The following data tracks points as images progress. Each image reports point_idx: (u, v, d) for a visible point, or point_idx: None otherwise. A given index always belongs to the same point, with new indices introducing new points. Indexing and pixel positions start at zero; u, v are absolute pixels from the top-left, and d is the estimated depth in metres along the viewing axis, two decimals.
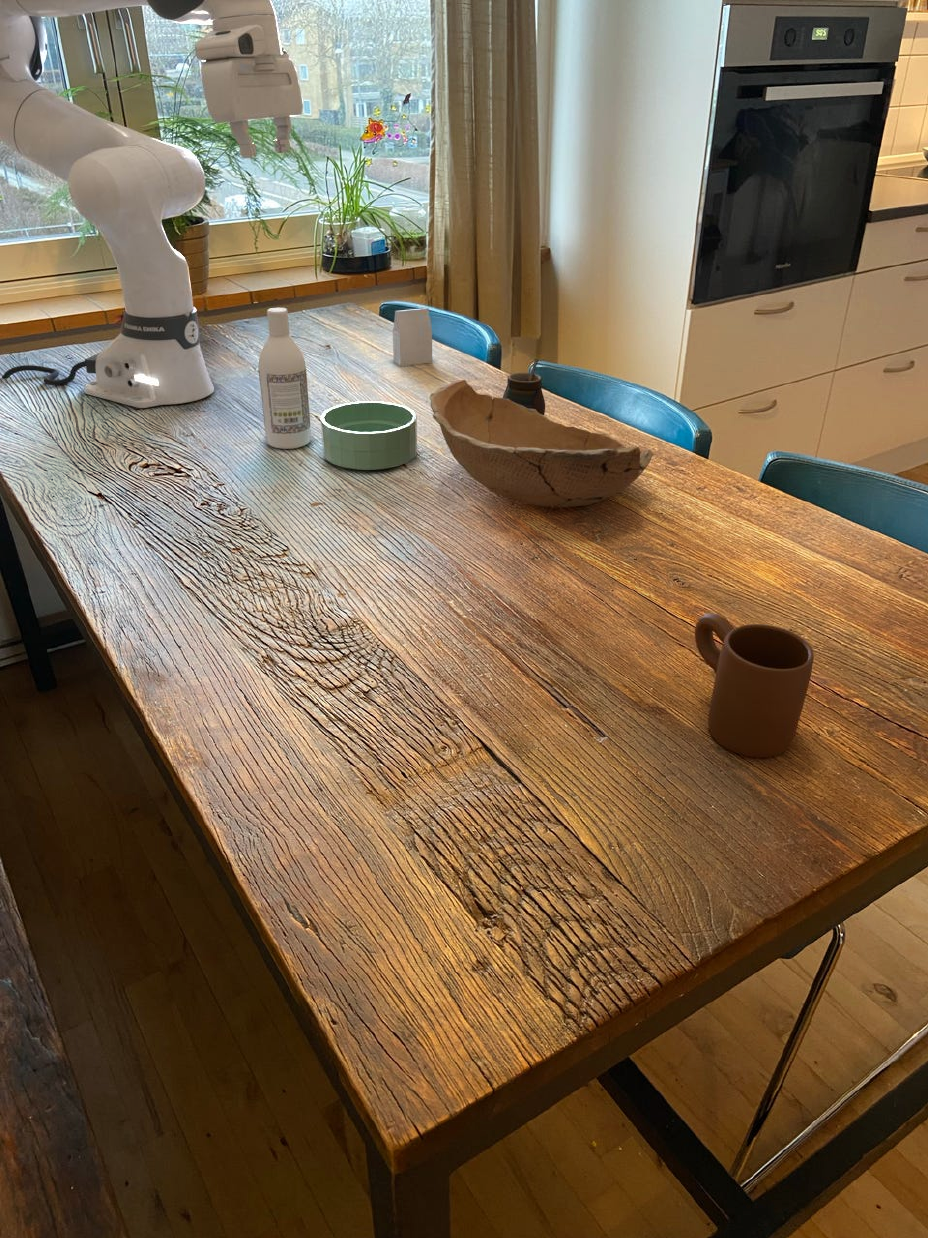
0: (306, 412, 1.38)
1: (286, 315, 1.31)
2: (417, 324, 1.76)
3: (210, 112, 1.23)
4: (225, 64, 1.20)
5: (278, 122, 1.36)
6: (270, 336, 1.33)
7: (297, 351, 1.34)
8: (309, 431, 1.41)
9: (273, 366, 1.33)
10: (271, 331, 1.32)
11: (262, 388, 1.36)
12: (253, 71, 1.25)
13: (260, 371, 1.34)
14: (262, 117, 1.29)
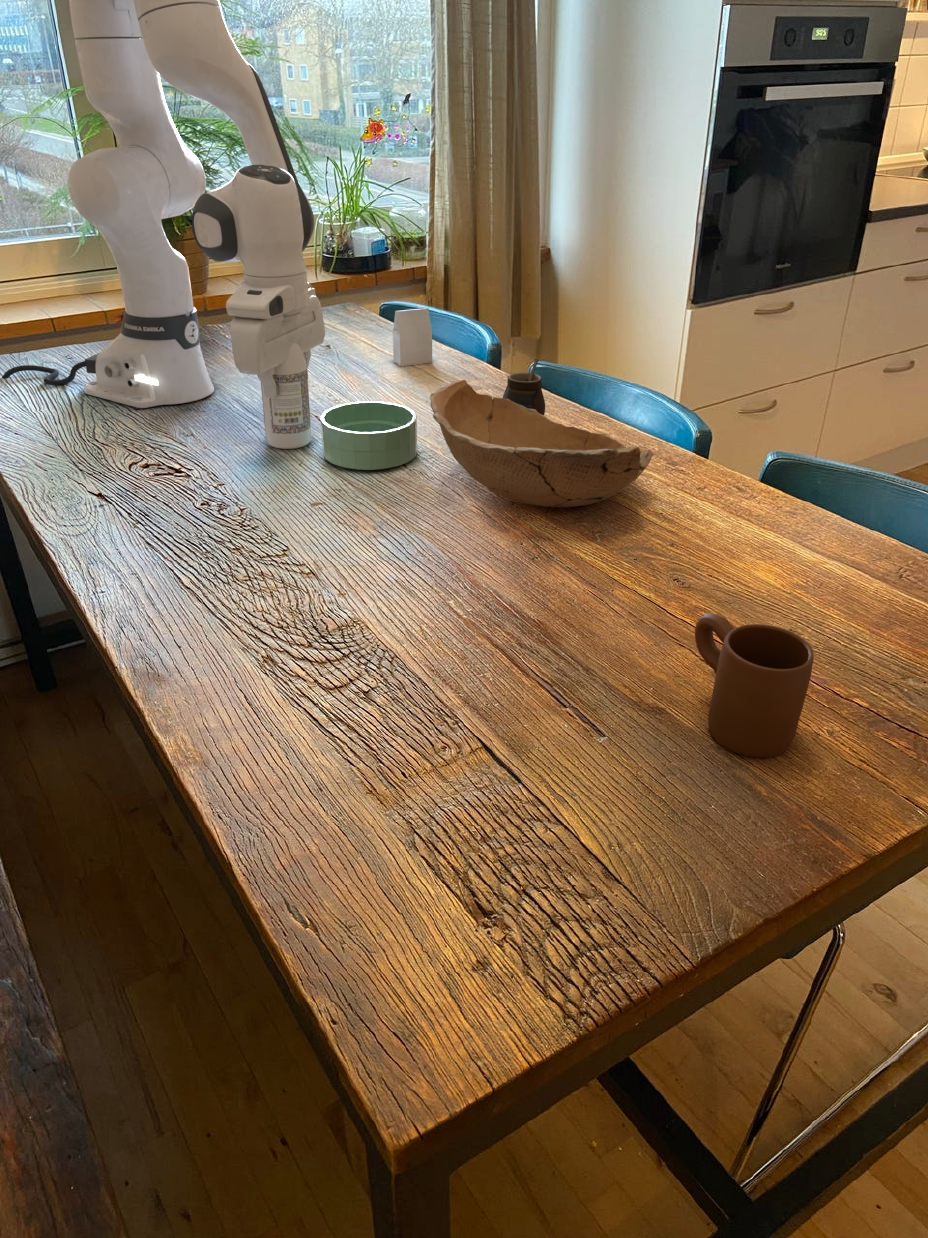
0: (306, 413, 1.38)
1: None
2: (417, 324, 1.76)
3: (236, 365, 1.27)
4: (255, 326, 1.24)
5: None
6: None
7: (298, 351, 1.34)
8: (309, 431, 1.41)
9: None
10: None
11: (262, 388, 1.36)
12: (280, 323, 1.29)
13: None
14: (285, 361, 1.33)
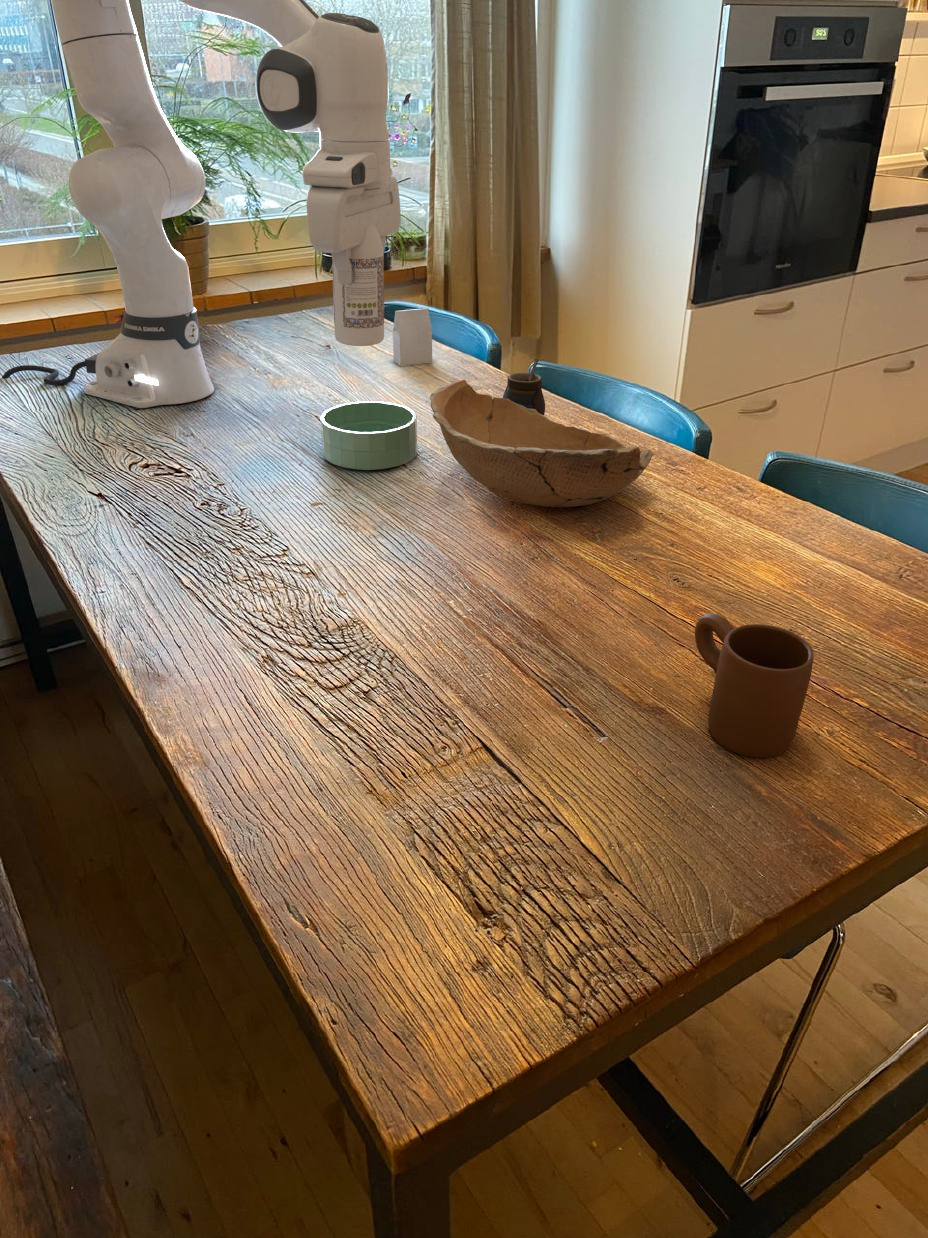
0: (381, 305, 1.25)
1: None
2: (417, 324, 1.76)
3: (312, 241, 1.14)
4: (335, 195, 1.11)
5: None
6: None
7: (376, 234, 1.21)
8: (383, 328, 1.28)
9: None
10: None
11: (335, 275, 1.23)
12: (360, 197, 1.16)
13: None
14: (362, 243, 1.20)
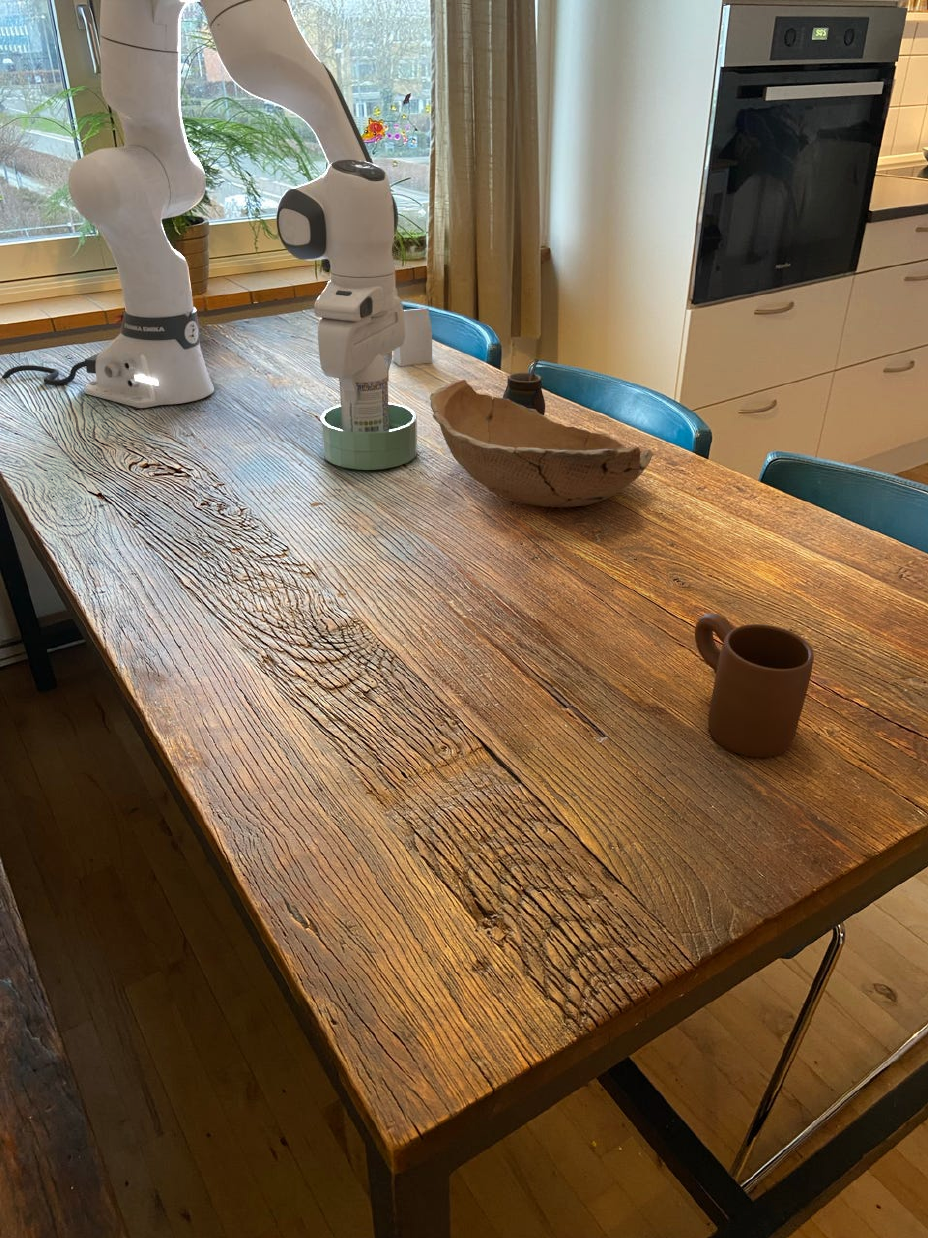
0: (386, 421, 1.34)
1: None
2: (417, 324, 1.76)
3: (322, 368, 1.22)
4: (344, 328, 1.19)
5: None
6: None
7: (380, 358, 1.30)
8: None
9: None
10: None
11: (342, 396, 1.32)
12: (367, 325, 1.25)
13: None
14: (369, 364, 1.28)
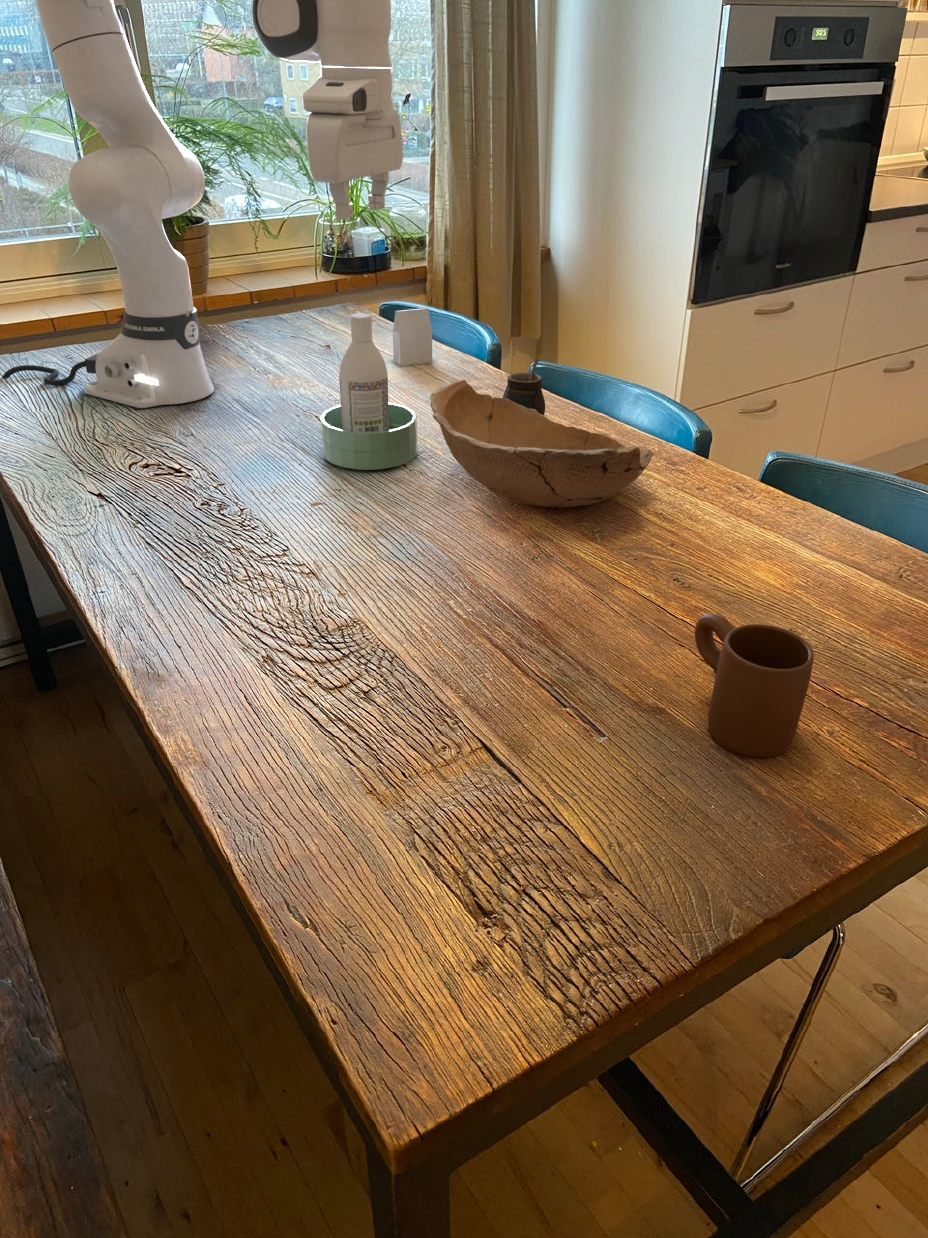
0: (386, 421, 1.34)
1: (370, 321, 1.27)
2: (417, 324, 1.76)
3: (311, 170, 1.11)
4: (335, 121, 1.08)
5: (375, 176, 1.24)
6: (353, 343, 1.28)
7: (380, 358, 1.30)
8: None
9: (355, 373, 1.28)
10: (354, 337, 1.28)
11: (342, 396, 1.32)
12: (361, 127, 1.13)
13: (341, 379, 1.30)
14: (363, 176, 1.17)
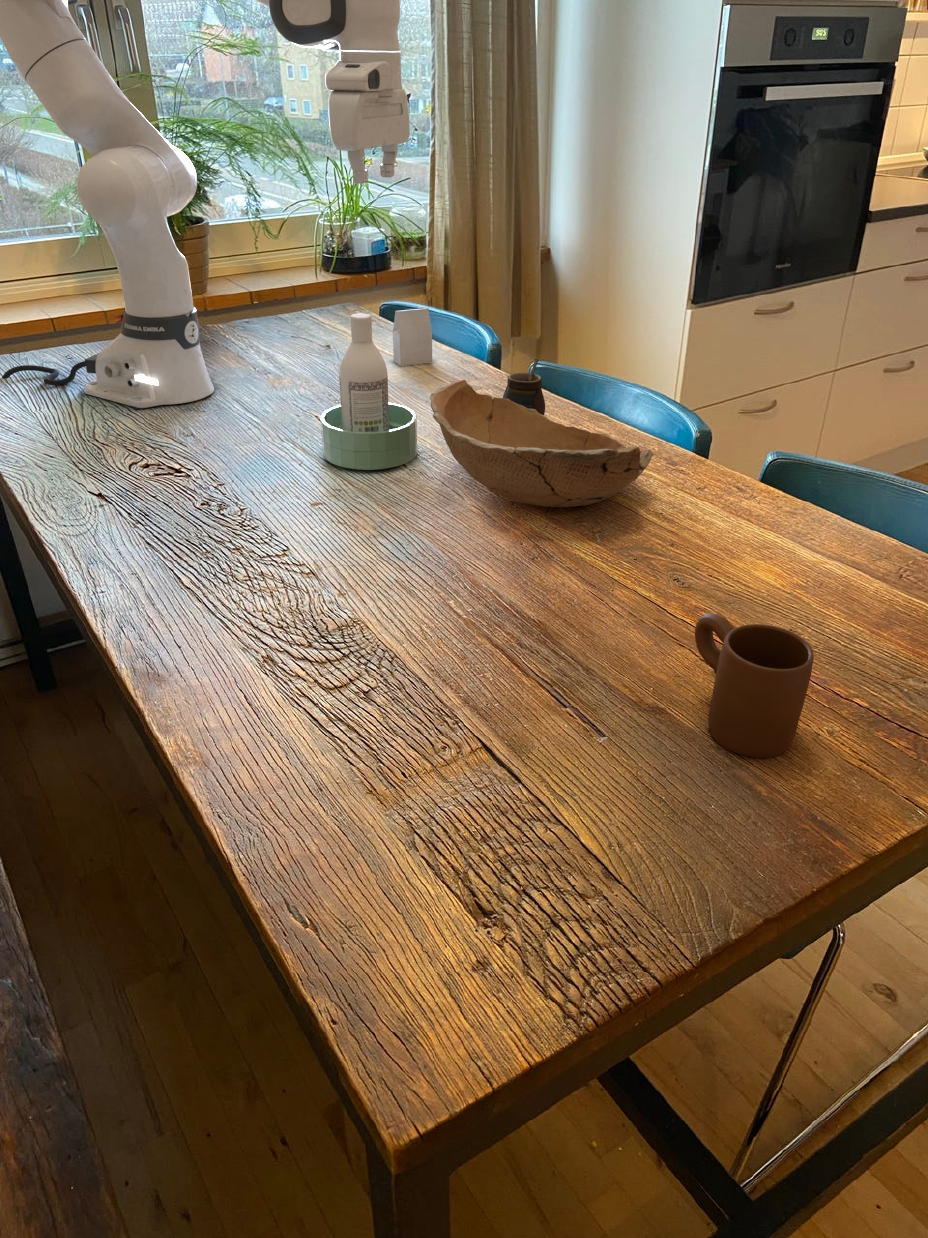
0: (386, 421, 1.34)
1: (370, 321, 1.27)
2: (417, 324, 1.76)
3: (333, 140, 1.30)
4: (353, 97, 1.27)
5: (386, 148, 1.43)
6: (353, 343, 1.28)
7: (380, 358, 1.30)
8: None
9: (355, 373, 1.28)
10: (354, 337, 1.28)
11: (342, 396, 1.32)
12: (374, 103, 1.32)
13: (341, 379, 1.30)
14: (376, 146, 1.36)
